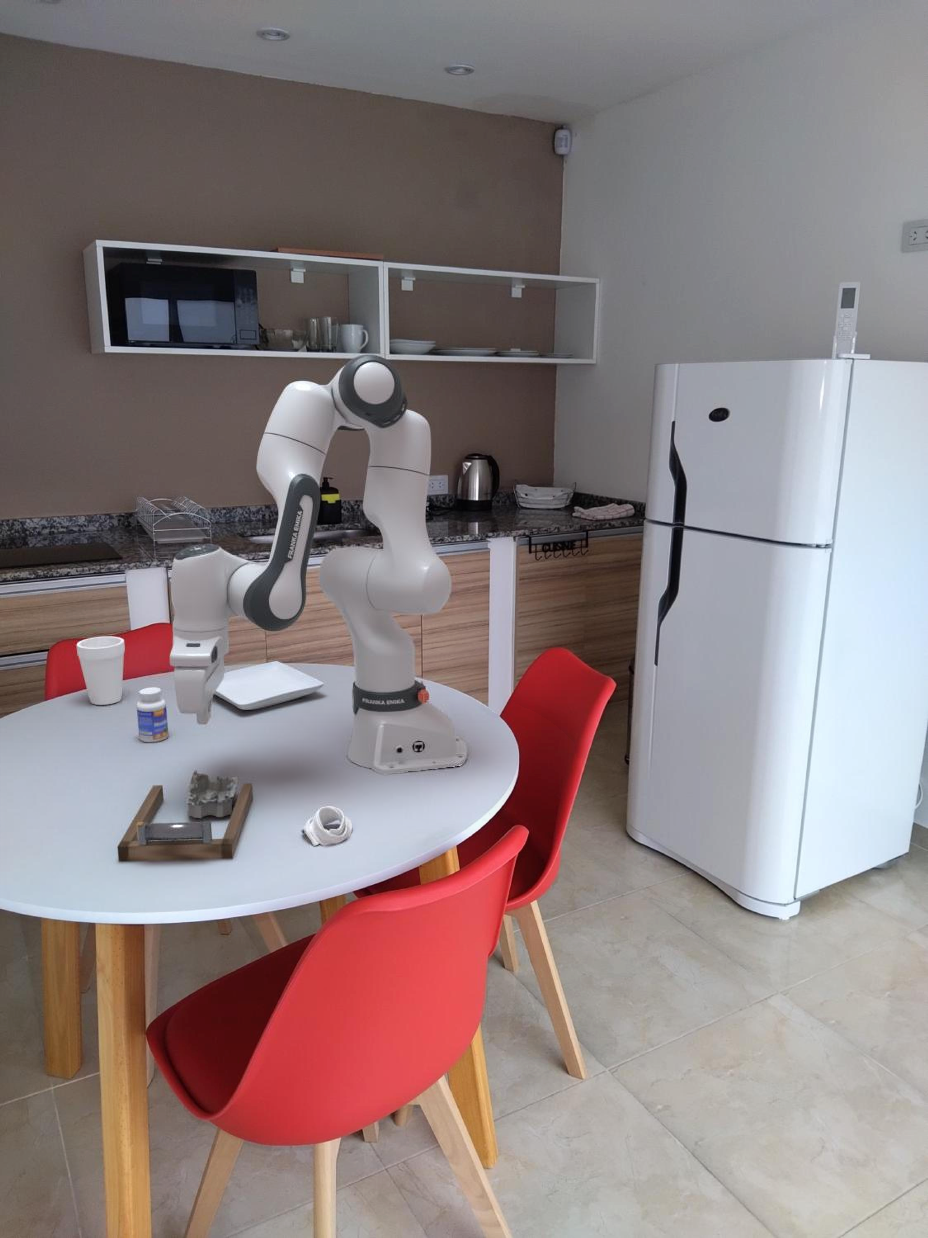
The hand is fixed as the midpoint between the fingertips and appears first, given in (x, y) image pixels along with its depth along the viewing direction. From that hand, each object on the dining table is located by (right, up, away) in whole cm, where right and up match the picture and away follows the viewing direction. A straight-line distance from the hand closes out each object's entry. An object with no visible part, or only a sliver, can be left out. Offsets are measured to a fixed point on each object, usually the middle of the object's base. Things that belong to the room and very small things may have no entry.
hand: (204, 721), depth 150 cm
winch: (+2, -15, -23) cm, 27 cm away
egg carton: (+1, -15, -7) cm, 16 cm away
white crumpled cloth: (+24, -16, -15) cm, 32 cm away
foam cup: (-34, 0, +42) cm, 54 cm away
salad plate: (-1, 0, +48) cm, 48 cm away
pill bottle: (-16, -6, +22) cm, 28 cm away
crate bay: (+2, -15, -13) cm, 20 cm away
